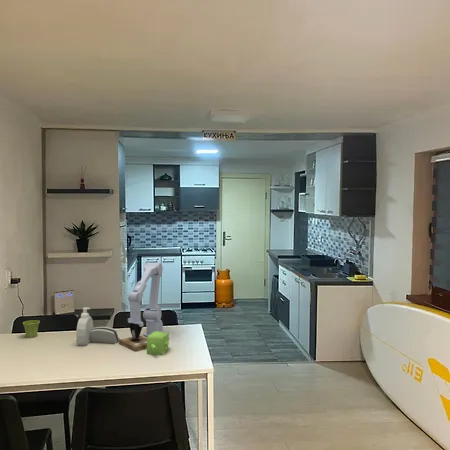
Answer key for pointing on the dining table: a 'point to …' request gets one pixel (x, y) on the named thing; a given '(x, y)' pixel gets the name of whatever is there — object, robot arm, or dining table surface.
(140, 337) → the jig
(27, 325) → the plant pot
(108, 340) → the grey rounded piece
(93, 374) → the dining table surface
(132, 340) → the mottled grey cylinder
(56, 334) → the dining table surface
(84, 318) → the soap bottle
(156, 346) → the gearbox
